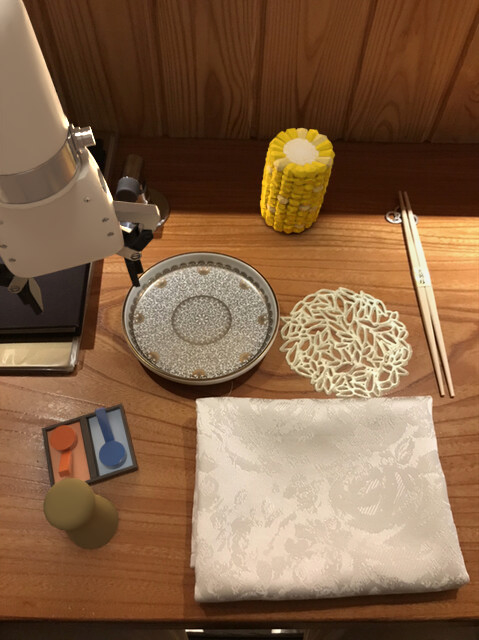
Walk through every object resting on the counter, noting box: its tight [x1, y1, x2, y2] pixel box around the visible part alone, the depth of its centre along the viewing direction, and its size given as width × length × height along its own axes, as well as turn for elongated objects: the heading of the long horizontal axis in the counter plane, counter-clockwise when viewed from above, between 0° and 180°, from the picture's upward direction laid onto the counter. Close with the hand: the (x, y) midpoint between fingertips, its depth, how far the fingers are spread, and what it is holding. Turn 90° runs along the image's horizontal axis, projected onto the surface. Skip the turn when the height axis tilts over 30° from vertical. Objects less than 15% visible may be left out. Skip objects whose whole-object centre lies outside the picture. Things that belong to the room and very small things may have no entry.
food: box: [259, 127, 336, 235], centre depth 83 cm, size 15×12×10 cm
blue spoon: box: [94, 406, 127, 469], centre depth 69 cm, size 7×3×4 cm, turn 18°
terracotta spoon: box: [50, 425, 78, 477], centre depth 68 cm, size 7×3×4 cm, turn 18°
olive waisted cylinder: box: [42, 478, 120, 550], centre depth 61 cm, size 6×6×11 cm
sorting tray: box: [41, 402, 139, 488], centre depth 70 cm, size 10×9×1 cm
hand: (87, 289), depth 56 cm, fingers open, 9 cm apart
